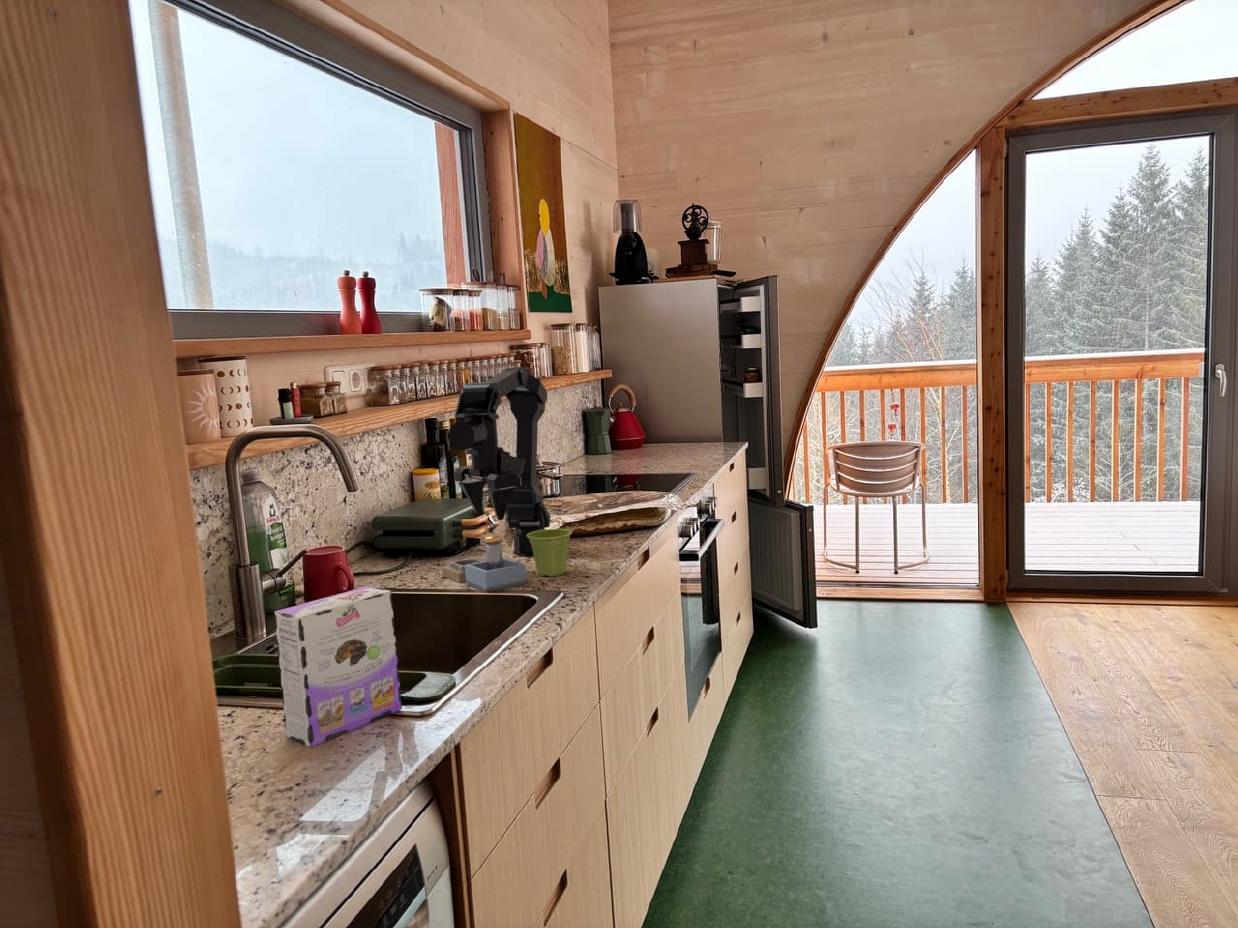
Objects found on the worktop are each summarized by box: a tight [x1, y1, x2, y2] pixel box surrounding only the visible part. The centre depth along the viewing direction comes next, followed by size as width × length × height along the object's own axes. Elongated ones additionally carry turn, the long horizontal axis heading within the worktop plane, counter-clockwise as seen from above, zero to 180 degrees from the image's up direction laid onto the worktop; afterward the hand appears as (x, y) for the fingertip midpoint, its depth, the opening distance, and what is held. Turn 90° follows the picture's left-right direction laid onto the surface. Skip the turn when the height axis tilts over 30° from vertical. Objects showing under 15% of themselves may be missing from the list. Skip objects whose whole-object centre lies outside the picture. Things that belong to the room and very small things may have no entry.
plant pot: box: [527, 528, 573, 577], centre depth 193 cm, size 9×9×9 cm
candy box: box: [274, 585, 403, 748], centre depth 117 cm, size 14×6×16 cm, turn 140°
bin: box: [465, 557, 527, 592], centre depth 187 cm, size 9×9×4 cm
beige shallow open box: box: [441, 557, 484, 583], centre depth 195 cm, size 8×8×3 cm
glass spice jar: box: [483, 534, 503, 571], centre depth 187 cm, size 4×4×9 cm
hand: (489, 517), depth 194 cm, fingers open, 9 cm apart
